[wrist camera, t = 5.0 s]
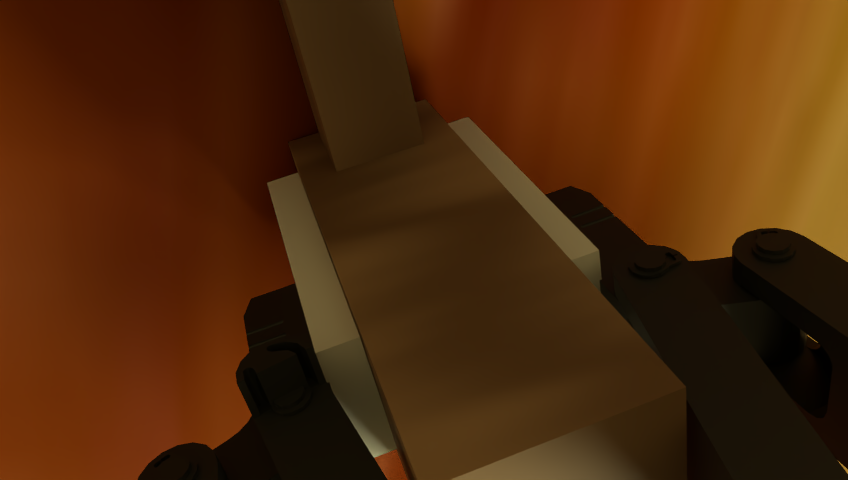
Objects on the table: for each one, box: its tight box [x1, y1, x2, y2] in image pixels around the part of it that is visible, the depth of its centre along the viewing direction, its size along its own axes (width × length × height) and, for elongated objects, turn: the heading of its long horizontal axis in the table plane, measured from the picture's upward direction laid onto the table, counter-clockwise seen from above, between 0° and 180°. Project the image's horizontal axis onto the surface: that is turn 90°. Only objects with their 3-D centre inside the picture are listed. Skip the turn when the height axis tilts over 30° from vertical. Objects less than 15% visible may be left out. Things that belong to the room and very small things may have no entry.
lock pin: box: [279, 0, 687, 480], centre depth 13 cm, size 4×10×11 cm, turn 12°
